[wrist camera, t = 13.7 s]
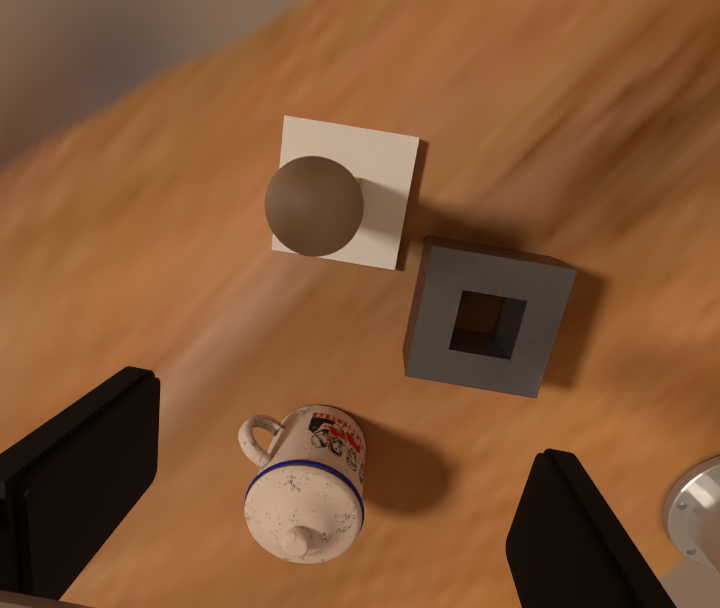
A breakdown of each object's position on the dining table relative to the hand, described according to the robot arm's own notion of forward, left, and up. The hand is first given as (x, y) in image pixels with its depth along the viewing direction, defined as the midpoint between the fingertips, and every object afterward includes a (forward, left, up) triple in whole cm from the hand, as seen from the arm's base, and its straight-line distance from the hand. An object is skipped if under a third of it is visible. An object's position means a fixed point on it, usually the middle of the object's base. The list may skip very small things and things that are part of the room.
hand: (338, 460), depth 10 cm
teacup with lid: (+3, +17, -25) cm, 31 cm away
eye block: (-9, +2, -25) cm, 27 cm away
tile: (+3, -5, -25) cm, 26 cm away
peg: (+3, -5, -24) cm, 25 cm away
